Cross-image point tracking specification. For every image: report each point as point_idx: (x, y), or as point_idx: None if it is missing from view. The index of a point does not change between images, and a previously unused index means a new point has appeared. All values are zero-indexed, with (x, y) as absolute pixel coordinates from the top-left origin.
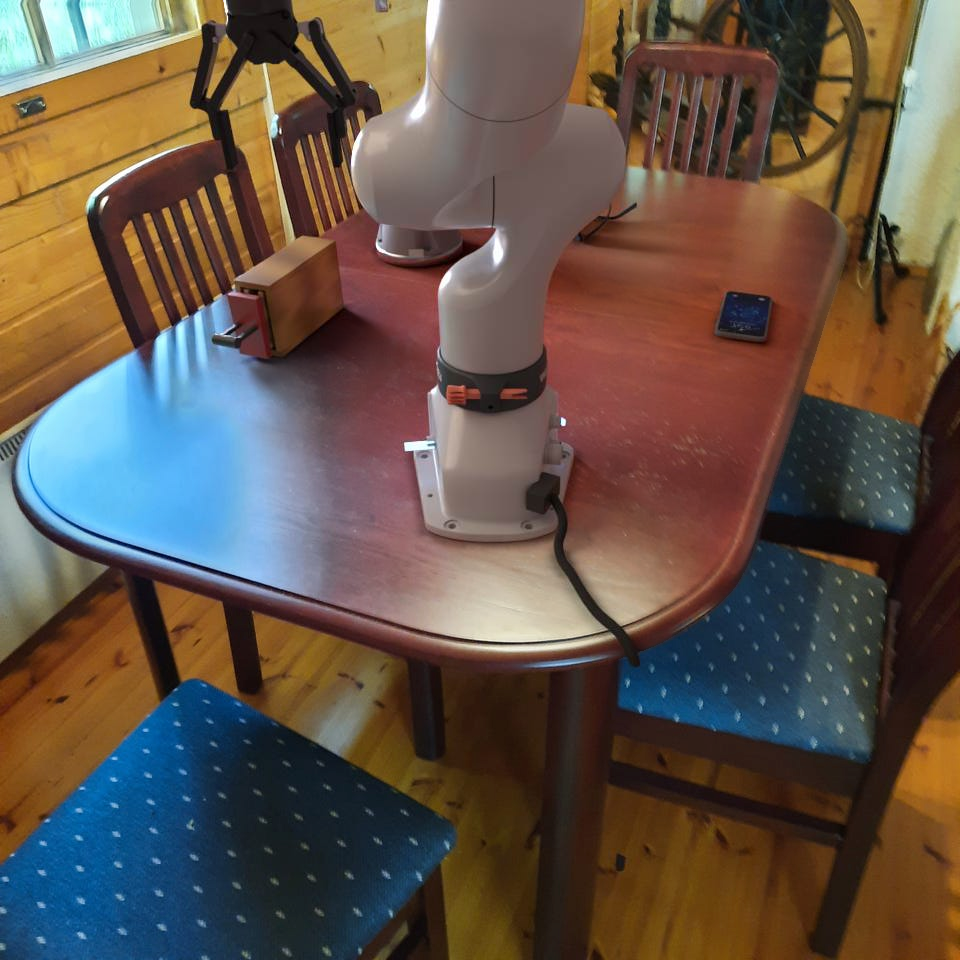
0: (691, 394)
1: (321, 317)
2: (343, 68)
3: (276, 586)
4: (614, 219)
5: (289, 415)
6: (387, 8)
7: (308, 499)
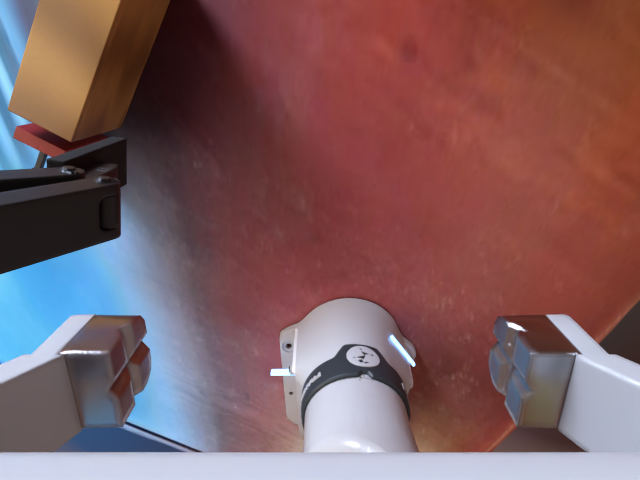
0: (561, 274)
1: (152, 34)
2: (38, 203)
3: (189, 445)
4: None
5: (156, 254)
6: (145, 383)
7: (196, 372)
